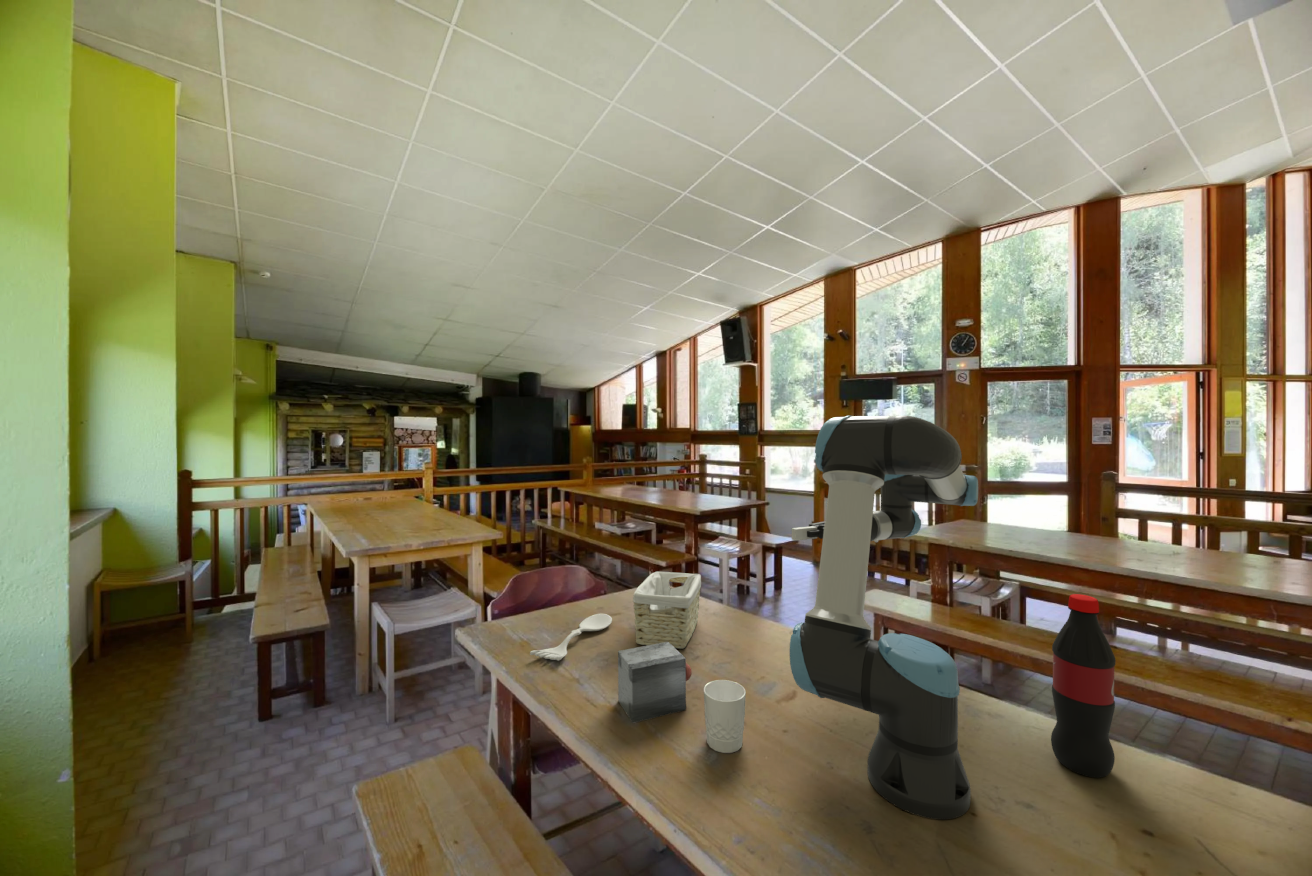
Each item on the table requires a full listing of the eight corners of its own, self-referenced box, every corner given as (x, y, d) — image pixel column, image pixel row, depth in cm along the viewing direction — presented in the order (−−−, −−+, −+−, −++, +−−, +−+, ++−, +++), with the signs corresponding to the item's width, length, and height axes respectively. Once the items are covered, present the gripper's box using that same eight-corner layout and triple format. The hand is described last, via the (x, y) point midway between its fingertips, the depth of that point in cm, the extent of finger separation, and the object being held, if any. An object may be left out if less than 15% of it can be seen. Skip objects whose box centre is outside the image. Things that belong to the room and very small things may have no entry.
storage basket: (652, 615, 159) (652, 569, 159) (703, 620, 156) (703, 572, 155) (630, 647, 136) (630, 593, 136) (689, 653, 132) (689, 598, 132)
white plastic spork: (528, 664, 127) (528, 650, 127) (591, 619, 157) (591, 608, 157) (558, 670, 124) (558, 656, 124) (617, 623, 153) (617, 612, 153)
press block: (668, 689, 114) (668, 641, 114) (685, 710, 106) (685, 658, 105) (618, 700, 109) (618, 651, 109) (632, 723, 101) (632, 669, 101)
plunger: (686, 675, 113) (686, 657, 113) (694, 683, 109) (694, 665, 109) (630, 687, 108) (630, 669, 107) (636, 696, 104) (636, 677, 104)
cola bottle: (1114, 765, 88) (1116, 595, 87) (1114, 790, 82) (1116, 608, 81) (1053, 744, 94) (1054, 585, 93) (1048, 767, 87) (1050, 596, 87)
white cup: (745, 758, 90) (745, 703, 90) (701, 752, 92) (701, 699, 91) (746, 732, 98) (746, 681, 98) (705, 727, 99) (705, 677, 99)
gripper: (888, 546, 123) (811, 556, 114) (849, 536, 135) (777, 544, 126) (888, 516, 123) (812, 523, 114) (849, 508, 135) (777, 514, 126)
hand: (793, 534), depth 120 cm, fingers closed
